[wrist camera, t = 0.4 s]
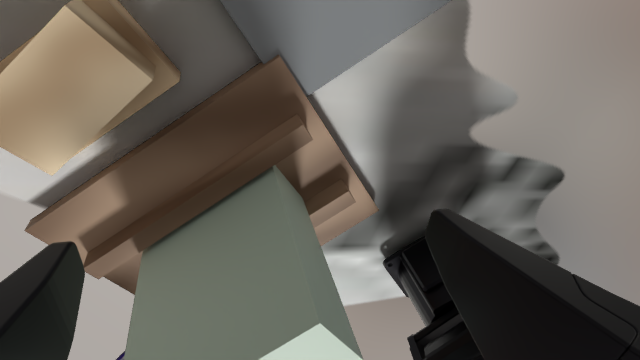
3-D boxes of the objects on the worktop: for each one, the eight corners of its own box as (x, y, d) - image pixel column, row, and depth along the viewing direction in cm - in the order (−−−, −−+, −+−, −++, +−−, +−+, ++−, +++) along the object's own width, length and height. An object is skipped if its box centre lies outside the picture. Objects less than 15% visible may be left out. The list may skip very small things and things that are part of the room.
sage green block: (302, 198, 26) (363, 360, 16) (186, 271, 27) (179, 465, 17) (270, 159, 23) (320, 323, 14) (144, 241, 24) (108, 448, 15)
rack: (374, 202, 29) (387, 222, 27) (190, 316, 31) (189, 343, 29) (277, 51, 21) (285, 64, 19) (30, 219, 22) (14, 248, 20)
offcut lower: (181, 69, 20) (179, 81, 19) (69, 148, 21) (59, 166, 20) (105, -18, 17) (96, -12, 16) (-21, 78, 18) (-42, 92, 17)
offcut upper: (156, 65, 18) (152, 80, 17) (63, 155, 19) (52, 175, 18) (77, -4, 16) (64, 5, 14) (-23, 102, 17) (-45, 122, 15)
